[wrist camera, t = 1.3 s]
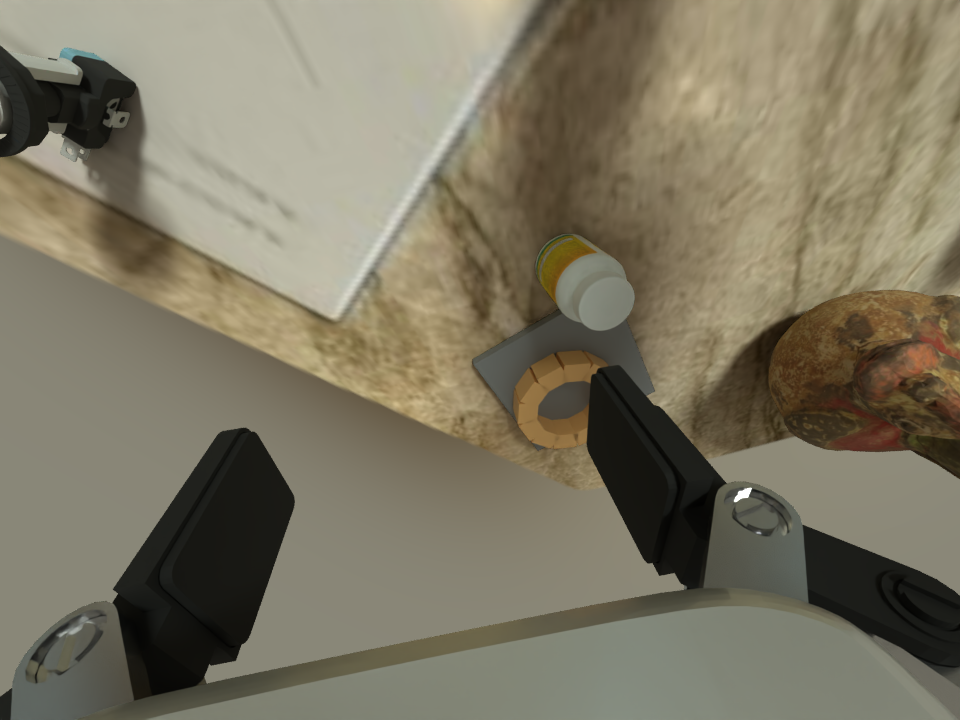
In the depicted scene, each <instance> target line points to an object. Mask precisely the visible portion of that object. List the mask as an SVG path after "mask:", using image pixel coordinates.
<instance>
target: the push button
mask: <svg viewBox="0 0 960 720" xmlns="http://www.w3.org/2000/svg"><path fill="white" fill-rule="evenodd" d="M135 88H136V84H135V83H134V82H133V81H132V80H130V79H129V78H128V77H126V76H125V75H123V74H122V73H121V72H119V71H118V70H116V69H115V68H114V67H112V66H111V65H109V64H108V63H107V62H105V61H104V60H102V59H101V58H99V57H98V56H97V55H95V54H94V53H88V52H84V51H79V50H75V49H71V48H64V49H62V51H61V53H60V56H59V58H58V59H52V58H48V59H45V58H40V57H34V56H29V55H24V54H19V53H14V52H9V51H6V50H5V49H4V48H3V47H1V46H0V134H7V135H6V136H5V137H4V138H2V139H0V157H7V156H12V155H16V154H18V153H20V152H22V151H24V150H25V149H26V148H27V147H31V146H37V145H39V144H40V143H41V142H42V141H43V139H44V138H45V137H46V135H47V134H48V132H49V131H52V132H53V133H56V134H62V137H63V138H65V139H64V142H63V145H62V148H61V151H60V153H61V155H63V156H65V157H66V158H68V159H70V160H71V161H73V162H76V161H77V158H78V157H79V158H81V159H82V160H84V161H87V159H88V156H89V154H90V151H91V149H95V148H101V147H102V146H103V145H104V143H106V142H107V141H108V139H109V136H110V133H111V131H112V128H124V127H125V126H126V125H127V122H128V119H129V117H130V113H129V112H125V111H119V108H120V106H121V103H122V100H123V98H126V97H131V96H132V95H133V93H134V90H135ZM121 117H124V120H123V121H122V122H121V123H120V119H121ZM67 148H70V149H72V153H73V155H70V154H69V153H68V152H67ZM80 149H82V150H84V151H85V153H84V154H81V153H80Z"/></svg>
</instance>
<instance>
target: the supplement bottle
mask: <svg viewBox="0 0 960 720" xmlns="http://www.w3.org/2000/svg"><path fill="white" fill-rule="evenodd" d="M535 270H536V275H537V278H538V280H539V282H540V283H541V285H542V286H543V288H544V289H545V290H546V292H547V293H548V294H549V296H550V297H551V298H552V300H553V301H554V302H555V304H556V305H557V306H558V308H559V309H560V310H561V312H562V313H563V314H564V315H565V316H566V317H568V318H569V319H571V320H573V321H576V322H581V323H583V324H584V325H585V326H586V327H588V328H590V329H592V330H596V331H604V330H608V329H611V328H614V327H616V326H617V325H619V324H620V323H622V322H623V321H624V320H625V319H626V318H627V316H628V315H629V314H630V312H631V310H632V308H633V305H634V301H635V294H634V290H633V288H632V286H631V284H630V283H629V282H628V281H627V278H626V274H625V271H624V269H623V267H622V265H621V264H620V263H619V262H618V261H617V260H616V259H614V258H613V257H612V256H610V255H609V254H607V253H606V252H604V251H603V250H601V249H600V248H598V247H597V246H595V245H594V244H592V243H591V242H590V241H588V240H587V239H585V238H583V237H582V236H579V235H576V234H562V235H559V236H557V237H555V238H553V239H551V240H550V241H549V242H547V243H546V244H545V245H544V246H543V248H542V249H541V250H540V252H539V254H538V256H537V260H536V264H535Z"/></svg>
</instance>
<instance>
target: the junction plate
mask: <svg viewBox="0 0 960 720" xmlns="http://www.w3.org/2000/svg"><path fill="white" fill-rule="evenodd" d="M577 350H582V352H584V351H586V352H588V353H590V354H592V355H595V356H597V357H599V358H601V359H603V360H604V361H605V362H606V363H607V364H608V366H613V365H620V366H621V367H622V368H623V369H624V370H625V372H626V373H627V374H628V375H629V376H630V378H631V379H632V380H633V381H634V382H635V383H636V385H637V386H638V387H639V388H640V389H641V391H642V392H643V393H644V394H645V395H646V396H647V395H649V394H651V393H652V392H654V391H655V390H654V387H653V385H652V382H651V380H650V377H649V375H648V372H647V370H646V367H645V365H644V362H643V360H642V357H641V355H640V352H639V350H638V347H637V345H636V342H635V340H634V337H633V335H632V332H631V330H630V327H629V325H628V322H627V320H626V319H625V320H624V321H623V322H622V323H620V324H619V325H617V326H616V327H614V328H611V329H608V330H604V331H596V330H592V329H590V328H588V327H586V326H585V325H584V324H583V323H581V322H576V321H573V320H571V319H569V318H568V317H566V316H565V315H564V314H563V313H562V312H561V310H560V309H559V310H557V311H555V312H553V313H552V314H550V315H548V316H547V317H545V318H543V319H541V320H540V321H538V322H536V323H534V324H533V325H531V326H529V327H528V328H526V329H524V330H522V331H521V332H519V333H517V334H515V335H514V336H512V337H510V338H509V339H507V340H505V341H503V342H502V343H500V344H498V345H496V346H495V347H493V348H491V349H490V350H488V351H486V352H484V353H483V354H481V355H479V356H478V357H476V358H474V359H472V360H473V364H474V366H475V367H476V369H477V370H478V371H479V373H480V374H481V375H482V377H483V378H484V379H485V381H486V382H487V383H488V385H489V386H490V387H491V389H492V390H493V391H494V393H495V394H496V395H497V397H498V398H499V399H500V401H501V402H502V403H503V405H504V406H505V407H506V409H507V410H508V411H509V413H510V414H511V415H512V417H513V418H514V419H515V421H516V422H517V420H516V417H515V414H514V410H513V398H514V389H515V386H516V385H517V383H518V382H519V380H520V379H521V377H522V376H523V375H524V373H525V372H526V370H527V369H528V368H530V369H532V368H531V365H533V364H535V363H536V362H538V361H540V360H542V359H544V358H545V357H547V356H549V355H551V354H553V353H554V355H555V357H556V353H557V352H564V351H577ZM589 397H590V383H588V382H586V381H576V382H566V383H564V384H562V385H560V386H558V387H556V388H555V389H553V390H551V391H549V392H548V393H547V395H546V396H545V397H544V399H543V400H542V401H541V403H540V404H539V405H538V415H540V416H542V417H545V418H548V419H550V420H558V419H568V418H570V417H572V416H574V415H575V414H577V413H579V412H581V411H583V410H584V408H585V407H586V406H587V405H588V404H589ZM517 424H518V423H517ZM532 444H533V445H534V446H535V448H536V449H537V450H538V451H539V450H541V449H543V448H545V447H544V446H541V445H538V444H535V443H532Z"/></svg>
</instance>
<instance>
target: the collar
mask: <svg viewBox="0 0 960 720" xmlns="http://www.w3.org/2000/svg"><path fill="white" fill-rule="evenodd" d="M607 366H608V364H607V363H606V362H605V361H604V360H603V359H601V358H599V357H597V356H595V355H592V354H590V353H588V352H586V351H584V352H582V350H577V351H564V352H557V353H556V357H555V355H554V353H553V354H551V355H549V356H547V357H545V358H544V359H542V360H540V361H538V362H536V363H535V364H533V365H531V368H532V369H530V368H528V369H527V370H526V372H525V373H524V375H523V376H522V377H521V379H520V380H519V382H518V383H517V385H516V386H515V389H514V398H513V410H514V414H515V417H516V420H517V423H518V426H519V427H520V429H521V430H522V431H523V433H524V434H525V435H526V437H527V438H528V439H529V441H531V442H532V443H535V444H538V445H541V446H544V447H547V448H550V449H551V448H552V447H553V449H560V448H569V447H576V445H577V443H578V445H579V446H580V445H582V444H584V443H586V442H587V428H588V413H589V404H588V405H587V406H586V407H585V408H584V410H583V411H581V412H579V413H577V414H575V415H574V416H572V417H570V418H568V419H558V420H550V419H548V418H545V417H542V416H540V415H538V405H539V404H540V403H541V401H542V400H543V399H544V397H545V396H546V395H547V393H548V392H549V391H551V390H553V389H555V388H556V387H558V386H560V385H562V384H564V383H566V382H576V381H586V382H588V383H590V382H591V376H592V374H596V372H597V369H598V368H601V367H607Z"/></svg>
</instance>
